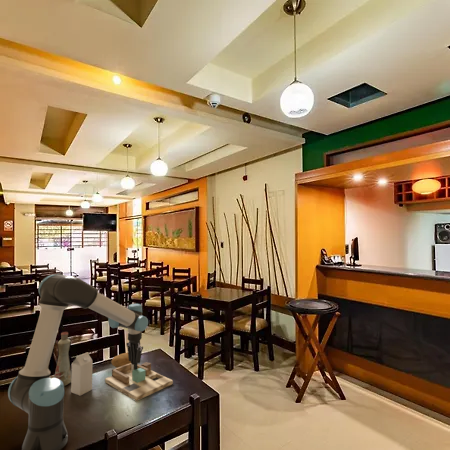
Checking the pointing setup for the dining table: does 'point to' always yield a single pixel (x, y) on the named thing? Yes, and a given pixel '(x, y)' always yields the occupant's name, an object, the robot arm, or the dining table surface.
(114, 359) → the potato
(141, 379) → the teal block
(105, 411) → the dining table surface
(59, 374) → the bottle
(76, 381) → the milk carton
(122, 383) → the cubby board
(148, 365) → the walnut cube
